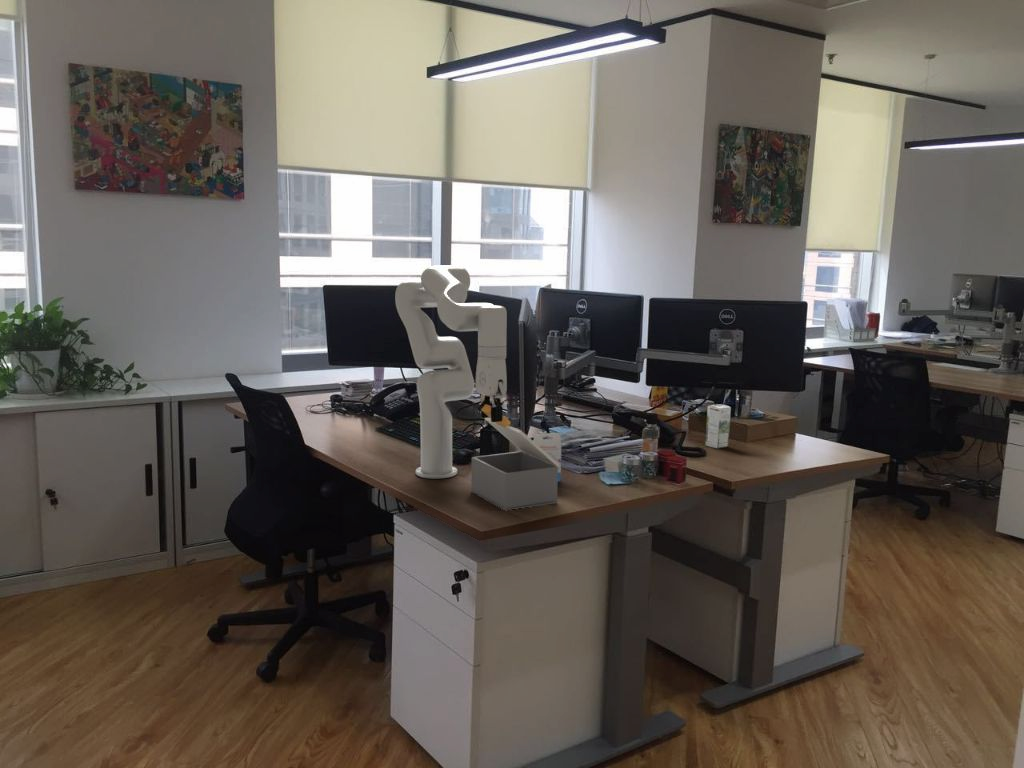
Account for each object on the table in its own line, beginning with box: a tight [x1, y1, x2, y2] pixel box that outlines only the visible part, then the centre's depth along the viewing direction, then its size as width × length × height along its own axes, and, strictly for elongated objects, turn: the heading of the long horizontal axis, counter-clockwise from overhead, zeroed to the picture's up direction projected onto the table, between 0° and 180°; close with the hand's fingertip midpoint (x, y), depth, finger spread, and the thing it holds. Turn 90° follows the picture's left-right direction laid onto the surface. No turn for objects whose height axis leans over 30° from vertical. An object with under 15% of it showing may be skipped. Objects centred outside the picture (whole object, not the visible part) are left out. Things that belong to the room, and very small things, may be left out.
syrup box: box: [704, 403, 732, 449], centre depth 297 cm, size 6×6×14 cm
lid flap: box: [480, 404, 559, 467], centre depth 233 cm, size 20×22×2 cm
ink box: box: [531, 432, 562, 483], centre depth 252 cm, size 8×5×15 cm, turn 96°
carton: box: [470, 450, 559, 512], centre depth 235 cm, size 20×16×10 cm
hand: (491, 418), depth 229 cm, fingers closed on lid flap, 5 cm apart
